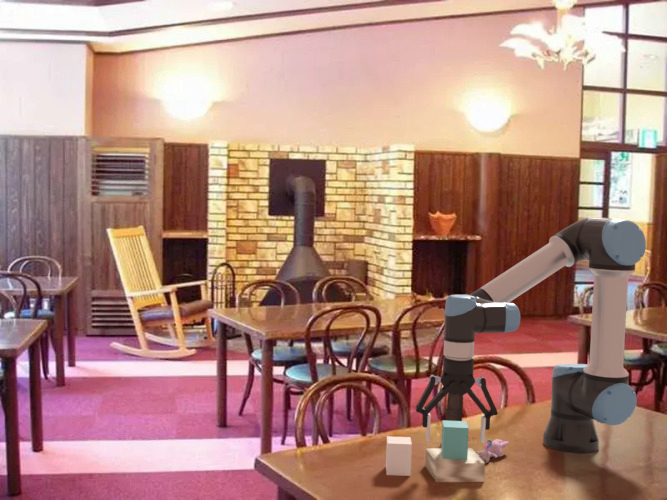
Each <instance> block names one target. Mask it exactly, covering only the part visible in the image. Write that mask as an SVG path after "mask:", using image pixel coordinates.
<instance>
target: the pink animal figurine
mask: <svg viewBox="0 0 667 500" xmlns="http://www.w3.org/2000/svg"><path fill="white" fill-rule="evenodd" d="M508 444H509V441H507V440H502V439H498V438H496V439H494V440H493V441H492V440H491V439H490V438H488V439H487V441H486V442H485V446H484V449H482V450H476V451H475V453H476V454H477V455H478V456H479V457H480V458H481V459H482V460H483V461H484V463H485V464H488V463H489V462H490V460H491V459H490V458H493V459H494V458H495V459H496V458H498V457H500V456H501V455H502V454H503V449H504V448H506V447H507V445H508Z"/></svg>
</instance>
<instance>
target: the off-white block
mask: <svg viewBox="0 0 667 500" xmlns="http://www.w3.org/2000/svg"><path fill="white" fill-rule="evenodd" d="M411 438H412V437H409V436H390V435H389V436H388V435H387V436H386V453H385V473H386V474H385V475H386V476H401V477H402V476H404V477H405V476H406V477H411V475H412V455H413V454H412V449H413V446H412V445H413V444H412V439H411Z"/></svg>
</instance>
